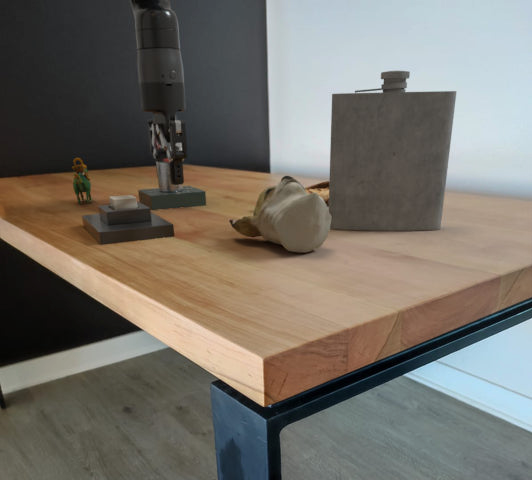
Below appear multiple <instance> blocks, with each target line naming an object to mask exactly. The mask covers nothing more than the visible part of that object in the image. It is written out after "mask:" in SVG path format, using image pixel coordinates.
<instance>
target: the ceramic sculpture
mask: <svg viewBox="0 0 532 480" xmlns="http://www.w3.org/2000/svg"><path fill="white" fill-rule="evenodd" d="M305 188H306V187H305V186H304V184H303V183H301V182H300V181H299V180H297V179H296V178H294V177H293V176H291V175H284V176H283V177H281V180H280V182H279V183H278V184H277V185H272V186H269V187H266V188H265V189H263V191H261V193H260V194H259V195H258V198H257V201H256V203H255V207H254V210H253V211H252V215H253V216H252V215H249V216H243V217H241V218H238V219H229V220H228V221H229V223H230V225H231V227H232V229H233V230H235V231H236V232H237V233H239V234H241V236H244V237H247V238H258V237H262V238H263V239H265V240H266V241H268V242H270V243H273V244H276V245H282V246H283V248H284V249H285V250H287V251H288V252H291V253H300V254H301V253H302V254H304V253H305V254H306V253H309V252H311V251H313V250H316V249H319V248H320V247H322V245H324V243H325V242H326V240H327V238H328V236H329V234H330V231H331V228H330V225H331V215H330V214H329V206H328V205H326V203H325V202H324V200H323V198H321V197H320V196H319V195H318V194H317V193H316V192H314V193H311V194H309V195H308V194H307V193H306V191H305Z"/></svg>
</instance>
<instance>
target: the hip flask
mask: <svg viewBox="0 0 532 480" xmlns="http://www.w3.org/2000/svg"><path fill="white" fill-rule="evenodd" d="M410 74H411V72H410V71H407V70H387V71H382V72H381V73H380V80H383V84H381V86H380V87H381V88H371V89H359V90H354V92H348V93H347V92H345V93H343V92H341V93H332V94H331V117H330V118H331V121H330V147H329V148H330V149H329V150H330V151H329V153H330V154H329V180H328V181H329V205H328V210H329V214H330V215H331V225H330V230H331V229H332V230H341V231H343V230H344V231H373V232H374V231H375V232H376V231H377V232H381V231H383V232H384V231H385V232H405V231H406V232H407V231H408V232H409V231H410V232H412V231H413V232H415V231H416V232H417V231H437V230H440V229H442V221H443V220H442V219H443V210H444V202H445V194H446V186H447V177H448V169H449V160H450V151H451V142H452V135H453V126H454V125H453V124H454V116H455V107H456V99H457V91H456V90H452V91H451V90H445V91H444V90H443V91H442V90H441V91H438V90H437V91H435V90H434V91H406V90H407V88H408V81H407V79H410ZM376 91H382V92H376Z"/></svg>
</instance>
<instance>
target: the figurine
mask: <svg viewBox="0 0 532 480" xmlns="http://www.w3.org/2000/svg"><path fill="white" fill-rule="evenodd" d="M77 161H79V162H80V164H77V163H76V162H77ZM72 164H73V166H72V167H71V169H73V171H75V170H76V171H75V173H72V175H73V176H74V177H73V183H72V187H73V191H74V194H75V195H76V200H77V203H78V204H82V203H83V201H85V200H86V203H87V204H89V203H90V202H91V203H92V201H94V198H92V195H91V194H92V193H91V190H92V189H91V188H92V184H91V183H92V182H91V179H90V177H89V172H88V171H89V170H88V166H87V165H86V164H84V162H83V160H82V158H80V157H75V158H74V159H73V161H72ZM83 193H85V197H86V199H85V198H84V194H83Z"/></svg>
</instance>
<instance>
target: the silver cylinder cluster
mask: <svg viewBox="0 0 532 480" xmlns="http://www.w3.org/2000/svg"><path fill="white" fill-rule="evenodd" d="M156 165H157V170H156V177H157V176H158V178H157V184H158V188H159V191H161V192H176V191H182V190H183V186H184V183H183V184H180V185H173V184H171V180H170V168H169V159H168V158H167V159H163V161H157V162H156V161H155V166H156Z"/></svg>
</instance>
